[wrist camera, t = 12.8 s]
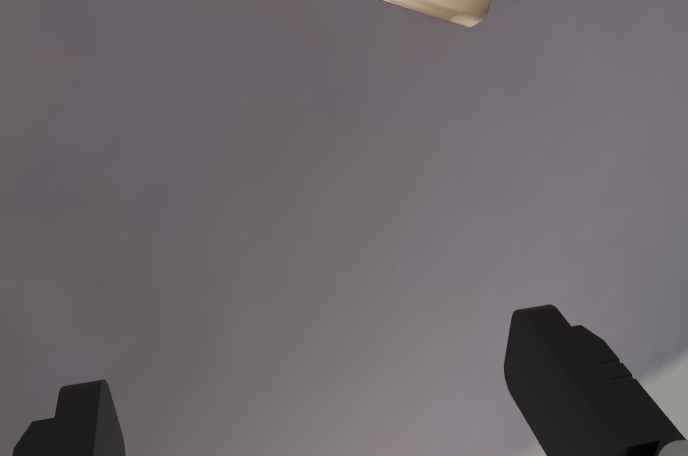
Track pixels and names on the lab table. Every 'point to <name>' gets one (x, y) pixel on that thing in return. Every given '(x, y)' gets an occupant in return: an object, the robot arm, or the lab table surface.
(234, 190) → the lab table surface
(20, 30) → the lab table surface
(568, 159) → the lab table surface
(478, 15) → the wooden compartment tray
